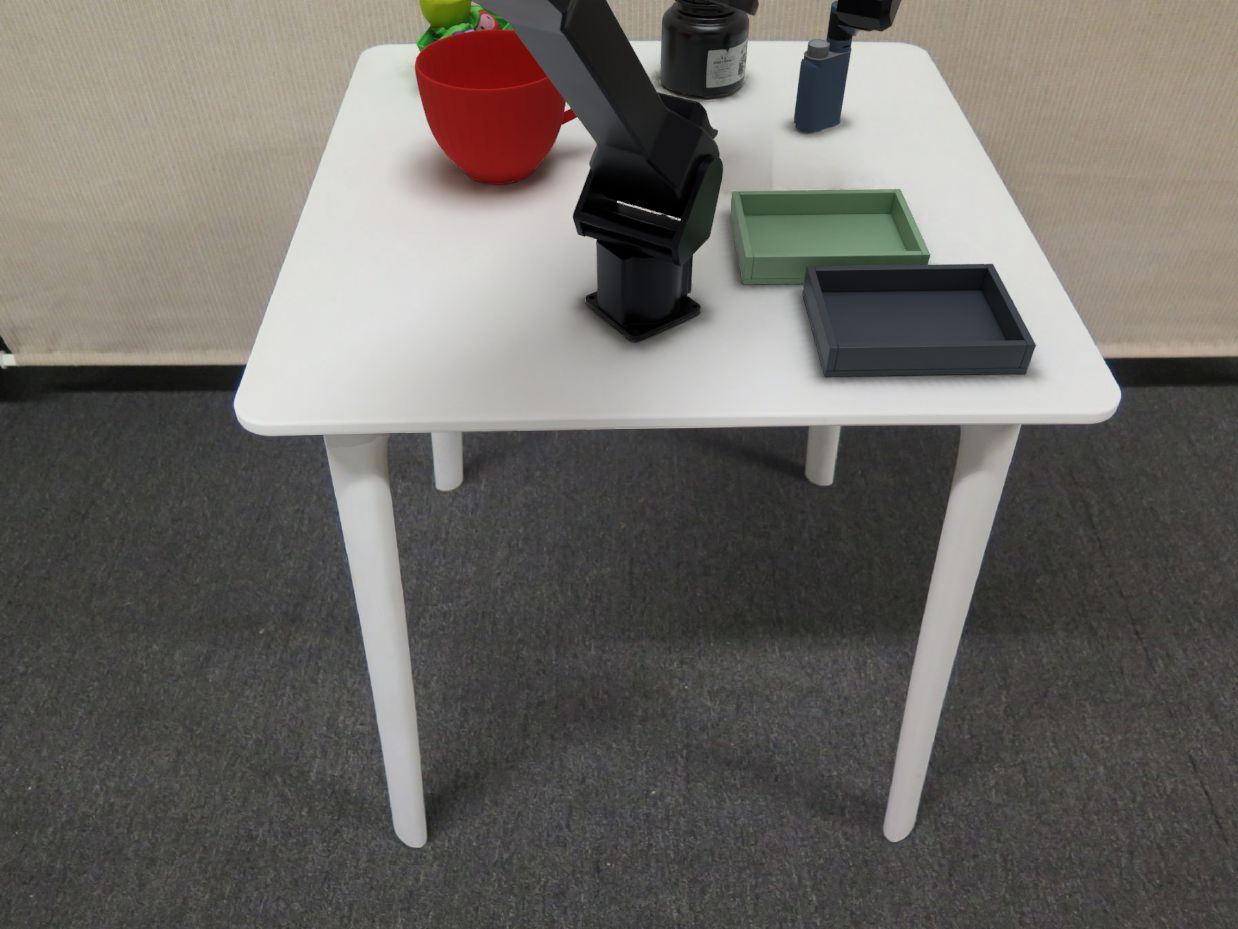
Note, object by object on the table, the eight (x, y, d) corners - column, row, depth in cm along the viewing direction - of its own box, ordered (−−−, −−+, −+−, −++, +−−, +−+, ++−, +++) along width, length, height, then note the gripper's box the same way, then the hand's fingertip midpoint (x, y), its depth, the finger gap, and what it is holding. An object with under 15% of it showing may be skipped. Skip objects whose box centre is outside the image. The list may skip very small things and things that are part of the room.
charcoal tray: (824, 376, 71) (829, 348, 69) (802, 293, 78) (806, 265, 76) (1026, 373, 71) (1036, 344, 69) (984, 291, 78) (993, 263, 77)
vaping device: (845, 122, 99) (866, -5, 91) (805, 136, 97) (822, 7, 89) (827, 113, 101) (846, -13, 93) (787, 126, 99) (803, -2, 90)
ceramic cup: (631, 180, 91) (632, 69, 84) (447, 213, 87) (432, 99, 80) (585, 119, 100) (583, 15, 93) (416, 147, 96) (400, 40, 89)
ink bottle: (729, 106, 102) (739, -19, 94) (646, 93, 104) (649, -31, 96) (755, 69, 109) (766, -51, 100) (677, 57, 111) (681, -61, 103)
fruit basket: (490, 100, 103) (479, -16, 95) (409, 92, 105) (391, -24, 97) (524, 57, 111) (516, -54, 103) (447, 49, 113) (434, -60, 105)
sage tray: (743, 284, 79) (745, 256, 77) (729, 217, 86) (731, 190, 85) (923, 282, 79) (930, 254, 78) (895, 215, 87) (900, 188, 85)
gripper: (937, -187, 67) (948, -54, 82) (687, -216, 74) (738, -88, 89) (876, -28, 68) (898, 77, 82) (633, -70, 75) (693, 33, 89)
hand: (804, 19), depth 86 cm, fingers open, 9 cm apart
